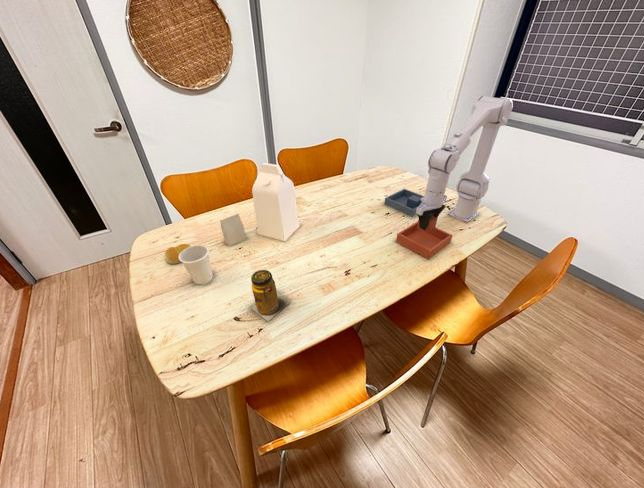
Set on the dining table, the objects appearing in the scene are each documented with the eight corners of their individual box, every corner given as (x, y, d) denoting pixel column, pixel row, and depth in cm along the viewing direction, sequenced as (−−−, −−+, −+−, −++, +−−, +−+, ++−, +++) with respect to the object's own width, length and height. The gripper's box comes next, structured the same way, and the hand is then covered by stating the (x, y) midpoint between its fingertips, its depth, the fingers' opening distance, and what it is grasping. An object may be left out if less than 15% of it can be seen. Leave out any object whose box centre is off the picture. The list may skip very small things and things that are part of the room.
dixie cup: (201, 291, 83) (190, 266, 77) (183, 281, 86) (172, 256, 80) (222, 274, 88) (214, 250, 82) (205, 266, 92) (196, 241, 86)
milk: (299, 225, 110) (294, 161, 94) (284, 241, 102) (275, 173, 86) (274, 219, 114) (264, 156, 98) (257, 234, 106) (244, 168, 90)
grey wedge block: (246, 238, 104) (240, 215, 98) (229, 246, 100) (222, 222, 94) (241, 234, 106) (236, 211, 100) (225, 241, 103) (218, 218, 96)
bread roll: (197, 257, 95) (193, 248, 93) (169, 267, 92) (164, 258, 89) (191, 245, 101) (188, 236, 98) (165, 254, 97) (160, 245, 95)
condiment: (250, 308, 77) (242, 277, 70) (273, 291, 82) (267, 260, 75) (268, 321, 73) (260, 290, 66) (290, 303, 78) (286, 271, 71)
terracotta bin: (417, 227, 107) (419, 220, 105) (450, 243, 99) (452, 235, 97) (395, 241, 100) (397, 233, 98) (428, 259, 92) (430, 251, 90)
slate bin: (403, 195, 129) (404, 188, 127) (430, 207, 120) (432, 199, 118) (384, 205, 122) (385, 197, 120) (411, 218, 113) (413, 210, 111)
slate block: (412, 203, 121) (413, 194, 118) (420, 207, 119) (422, 198, 116) (405, 207, 119) (407, 198, 116) (414, 211, 116) (416, 201, 114)
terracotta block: (423, 223, 99) (426, 213, 96) (434, 228, 96) (437, 217, 93) (416, 228, 96) (419, 217, 94) (427, 233, 94) (430, 222, 91)
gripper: (437, 179, 93) (428, 214, 102) (411, 192, 86) (404, 228, 94) (456, 185, 89) (446, 221, 97) (431, 199, 82) (422, 237, 90)
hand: (426, 225), depth 96 cm, fingers closed on terracotta block, 4 cm apart
